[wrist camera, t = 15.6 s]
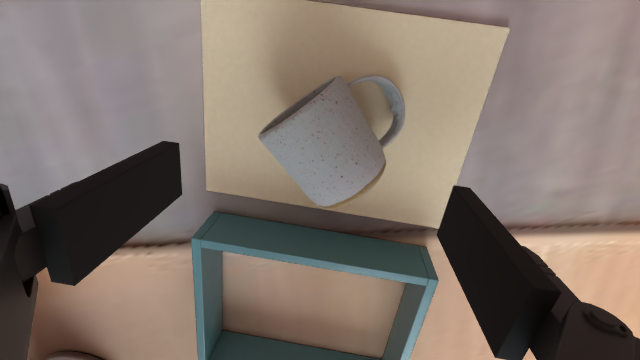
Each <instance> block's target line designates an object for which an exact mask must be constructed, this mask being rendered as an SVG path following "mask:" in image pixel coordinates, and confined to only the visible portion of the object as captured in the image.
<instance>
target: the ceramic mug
mask: <svg viewBox="0 0 640 360" xmlns="http://www.w3.org/2000/svg"><path fill="white" fill-rule="evenodd" d="M366 81H369V82H375V83H377V84H379V86H380V87H382V89H383V90H384V92H385V95H386V97H387V99H388V101H389V104H390V111H391V112H392V113H393V114H394V115H393V121H392V124H391V127H390V128H389V130H388V131H387V132H386V134H385V135H384V136H383V137H382V138H381V139H380V140H378V139H377V137H376V135H375V134H374V132H373V131H372V129H371V127H370V126H369V124H368V122H367V121H366V119H365V117H364V115H363V113H362V111H361V109H360V107H359V106H358V104H357V102H356V101H355V99H354V97H353V95H352V93H351V91H350V88H351V87H352V86H353V85H355V84H358V83H361V82H366ZM404 120H405V104H404V100H403V97H402V95H401V93H400V91H399V89H398V88H397V86H396V85H395V84H394V82H392V81H391V80H390V79H388V78H386V77H383V76H378V75H366V76H362V77H358V78H356V79H353V80H350V81H348V82H346V83H345V81H344V79H343V78H342V76H336V77H333V78H331V79H330V80H327V81H326V82H324V83H323V84H321V85H319V86H318V87H316V88H315V89H314V90H312V91H311V92H309V93H307V94H306V95H305V96H303V97H302V98H300V99H299V100H298V101H296V102H295V103H293V104H292V105H291V106H289V107H288V108H287V109H286V110H284V111H283V112H282V113H280V114H279V115H278V116H277V117H275V118H274V119H273V120H272V121H271V122H270V123H269V124H267V125H266V127H264V128H263V130H262V131H261V132H260V133H259V136H258V137H259V140H260V141H261V142H262V143H263V144H264V146H265V147H266V148H267V149H268V150H269V151H270V153H271V154H272V155H273V156H274V157H275V158H276V160H277V161H278V162H279V163H280V164H281V166H282V167H283V168H284V169H285V170H286V172H287V173H288V174H289V175H290V176H291V177H292V178H293V180H294V181H295V182H296V183H297V184H298V186H299V187H300V188H301V189H302V191H303V192H304V193H305V194H306V195H307V196H308V197H309V198H310V199H311V200H312V201H313V202H315V203H316V204H317V205H318V206H320V207H322V208H326V209H332V208H338V207H342V206H345V205H347V204H350V203H352V202H354V201H355V200H357V199H358V198H360V197H362V196H363V195H364V194H365V193H367V192H368V191H369V190H370V189H372V188H373V187H374V186H375V184H376V183H377V182H378V181H379V180H380V178H381V176H382V175H383V173H384V170H385V166H386V159H385V155H384V152H383V148H384V147H386V146H388V145H389V144H390V143H391V142H392V141H393V140H394V139H395V138H396V137H397V136H398V134H399V132H400V131H401V129H402V127H403V124H404Z"/></svg>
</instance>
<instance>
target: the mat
mask: <svg viewBox="0 0 640 360" xmlns="http://www.w3.org/2000/svg"><path fill="white" fill-rule="evenodd" d="M201 23H202V58H203V92H204V127H205V162H206V190H207V191H213V192H220V193H226V194H232V195H238V196H244V197H250V198H256V199H262V200H268V201H274V202H281V203H287V204H293V205H299V206H305V207H311V208H317V209H323V210H329V211H335V212H341V213H348V214H354V215H360V216H366V217H372V218H378V219H384V220H390V221H396V222H402V223H409V224H415V225H421V226H427V227H433V228H439V227H440V224H441V221H442V218H443V215H444V212H445V209H446V206H447V203H448V200H449V197H450V194H451V191H452V188H453V185H454V186H456V183H457V180H458V177H459V174H460V171H461V169H462V166H463V163H464V160H465V157H466V154H467V151H468V148H469V145H470V143H471V140H472V137H473V134H474V131H475V128H476V125H477V122H478V119H479V117H480V114H481V111H482V108H483V105H484V102H485V99H486V96H487V93H488V91H489V88H490V85H491V82H492V79H493V76H494V73H495V70H496V67H497V65H498V62H499V59H500V56H501V53H502V50H503V47H504V44H505V41H506V39H507V36H508V33H509V30H510V28H507V27H499V26H492V25H485V24H477V23H470V22H462V21H455V20H448V19H440V18H433V17H425V16H418V15H411V14H403V13H396V12H388V11H381V10H374V9H366V8H359V7H352V6H344V5H337V4H329V3H322V2H315V1H307V0H201ZM366 75H378V76H383V77H386V78H388V79H390V80H391V81H392V82H394V84H395V85H396V86H397V88H398V89H399V91H400V93H401V95H402V97H403V100H404V104H405V120H404V124H403V127H402V129H401V131H400V132H399V134H398V136H397V137H396V138H395V139H394V140H393V141H392V142H391V143H390V144H389V145H388V146H386V147H384V148H383V152H384V155H385V159H386V166H385V170H384V173H383V175H382V176H381V178H380V180H379V181H378V182H377V183H376V184H375V186H374V187H373V188H372V189H370V190H369V191H368V192H367V193H365V194H364V195H363V196H362V197H360V198H358V199H357V200H355V201H354V202H352V203H350V204H347V205H345V206H342V207H338V208H332V209H326V208H322V207H320V206H318V205H317V204H316V203H315V202H313V201H312V200H311V199H310V198H309V197H308V196H307V195H306V194H305V193H304V192H303V191H302V189H301V188H300V187H299V186H298V184H297V183H296V182H295V181H294V180H293V178H292V177H291V176H290V175H289V174H288V173H287V172H286V170H285V169H284V168H283V167H282V166H281V164H280V163H279V162H278V161H277V160H276V158H275V157H274V156H273V155H272V154H271V153H270V151H269V150H268V149H267V148H266V147H265V146H264V144H263V143H262V142H261V141H260V140H259V137H258V136H259V133H260V132H261V131H262V130H263V128H264V127H266V125H267V124H269V123H270V122H271V121H272V120H273V119H274V118H275V117H277V116H278V115H279V114H280V113H282V112H283V111H284V110H286V109H287V108H288V107H289V106H291V105H292V104H293V103H295V102H296V101H298V100H299V99H300V98H302V97H303V96H305V95H306V94H307V93H309V92H311V91H312V90H314V89H315V88H316V87H318V86H319V85H321V84H323V83H324V82H326V81H327V80H330V79H331V78H333V77H336V76H342V78H343V79H344V81H345V83H346V82H348V81H350V80H353V79H356V78H358V77H362V76H366ZM350 91H351V93H352V95H353V97H354V99H355V101H356V102H357V104H358V106H359V107H360V109H361V111H362V113H363V115H364V117H365V119H366V121H367V122H368V124H369V126H370V127H371V129H372V131H373V132H374V134H375V135H376V137H377V139H378V140H380V139H381V138H382V137H383V136H384V135H385V134H386V132H387V131H388V130H389V128H390V127H391V124H392V121H393V115H394V114H393V113H392V112H391V111H390V104H389V101H388V99H387V97H386V95H385V92H384V90H383V89H382V87H380V86H379V84H377V83H375V82H369V81H366V82H361V83H358V84H355V85H353V86H352V87H351V88H350Z"/></svg>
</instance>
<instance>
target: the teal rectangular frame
mask: <svg viewBox="0 0 640 360" xmlns="http://www.w3.org/2000/svg"><path fill="white" fill-rule="evenodd" d="M191 241H192V259H193V277H194V295H195V313H196V331H197V349H198V360H381V359H376V358H371V357H365V356H360V355H354V354H349V353H343V352H338V351H333V350H327V349H322V348H316V347H311V346H305V345H300V344H294V343H289V342H284V341H278V340H273V339H267V338H262V337H256V336H251V335H245V334H240V333H234V332H229V331H224V330H223V331H222V251H225V252H231V253H237V254H243V255H248V256H254V257H260V258H266V259H272V260H278V261H283V262H289V263H295V264H301V265H307V266H312V267H318V268H324V269H330V270H336V271H341V272H347V273H353V274H359V275H365V276H370V277H376V278H382V279H388V280H394V281H399V282H405V283H406V286H405V289H404V292H403V295H402V298H401V302H400V305H399V308H398V311H397V314H396V317H395V320H394V324H393V327H392V330H391V333H390V336H389V339H388V342H387V346H386V349H385V352H384V355H383V358H382V360H409V359H410V356H411V353H412V351H413V348H414V345H415V343H416V340H417V337H418V334H419V332H420V329H421V326H422V324H423V321H424V318H425V316H426V313H427V310H428V308H429V305H430V302H431V300H432V297H433V294H434V292H435V289H436V286H437V284H438V281H439V280H438V277H437V274H436V272H435V269H434V266H433V264H432V261H431V258H430V255H429V253H428V250H427V247H422V246H417V245H411V244H405V243H399V242H393V241H387V240H381V239H375V238H369V237H363V236H357V235H351V234H345V233H339V232H333V231H327V230H321V229H315V228H309V227H303V226H297V225H291V224H285V223H279V222H273V221H267V220H261V219H255V218H249V217H243V216H237V215H231V214H225V213H219V212H213V213H212V215H211V216H210V217H209V218H208V219H207V220H206V222H205V223H204V224H203V225H202V226H201V227H200V229H199V230H198V231H197V232H196V233H195V234H194V236H193V237H192V238H191Z"/></svg>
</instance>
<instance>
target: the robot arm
mask: <svg viewBox="0 0 640 360" xmlns="http://www.w3.org/2000/svg"><path fill="white" fill-rule="evenodd" d="M181 195H182V184H181V167H180V151H179V143H174V142H168V141H162V142H160V143H158V144H156V145H154V146H152V147H150V148H148V149H145V150H143V151H141V152H139V153H137V154H135V155H133V156H131V157H129V158H127V159H125V160H122V161H120V162H118V163H116V164H114V165H112V166H110V167H108V168H106V169H104V170H102V171H100V172H97V173H95V174H93V175H91V176H89V177H87V178H85V179H83V180H81V181H78V182H74V183H72V184H70V185H68V186H66V187H64V188H61V190H57V191H55V192H53V193H51V194H50V195H47V196H45V197H43V198H40V199H38V200H36V201H34V202H32V203H30V204H28V205H26V206H24V207H21V208H19V209H17V210H15V208H14V205H13V202H12V198H11V195H10V192H9V189H8V186H6V185H4V184H0V360H27V354H28V348H29V341H30V335H31V328H32V322H33V316H34V309H35V303H36V297H37V290H38V281H37V278H36V274H37V273H39V272H40V271H41V270H43V269H44V268H46V267H47V268H48V272H49V275H50V279H51V282H55V283H61V284H67V285H73V286H75V285H76V284H78V283H79V282H80V281H81V280H82V279H83V278H85V277H86V276H87V275H88V274H89V273H90V272H92V271H93V270H94V269H95V268H96V267H98V266H99V265H100V264H101V263H102V262H103V261H105V260H106V259H107V258H108V257H109V256H110V255H112V254H113V253H114V252H115V251H116V250H117V249H119V248H120V247H121V246H122V245H123V244H124V243H126V242H127V241H128V240H129V239H130V238H132V237H133V236H134V235H135V234H136V233H137V232H139V231H140V230H141V229H142V228H143V227H144V226H146V225H147V224H148V223H149V222H150V221H151V220H153V219H154V218H155V217H156V216H157V215H159V214H160V213H161V212H162V211H163V210H164V209H166V208H167V207H168V206H169V205H170V204H171V203H173V202H174V201H175V200H176V199H177V198H178V197H180V196H181ZM437 237H438V239H439V241H440V243H441V245H442V247H443V249H444V251H445V253H446V256H447V258H448V260H449V262H450V264H451V266H452V268H453V270H454V272H455V274H456V277H457V279H458V281H459V283H460V285H461V287H462V289H463V291H464V293H465V296H466V298H467V300H468V302H469V304H470V306H471V308H472V310H473V312H474V314H475V317H476V319H477V321H478V323H479V325H480V327H481V329H482V331H483V333H484V336H485V338H486V340H487V342H488V344H489V346H490V348H491V350H492V352H493V354H494V357H495V358H500V359H505V360H522V359H523V358H524V356H525V354H526V352H527V351H528V349H529V348H530V349H531V351H532V353H533V354H534V356H535V358H536V359H537V360H640V339H639V338H636V337H634V336H633V333H632V331H631V330H630V329H629V328H628V327H627V326H626V324H625V323H623V322H622V321H621V320H619V319H618V318H617V317H615V316H614V315H612V314H611V313H609V312H607V311H605V310H604V309H602V308H599V307H597V306H594V305H592V304H588V303H584V302H581V301H580V300H579V299H578V298H577V297H576V296H575V295H574V294H573V293H572V291H571V290H570V289H569V288H568V287H567V286H566V285H565V284H564V283H563V282H562V281H561V280H560V279H559V277H557V276H556V274H555V273H554V272H553V271H552V270H551V269H550V268H548V266H547V264H546V263H545V262H544V261H543V260H542V259H541V258H540V257H539V256H538V255H537V254H535V253H534V252H532V251H531V250H529V249H528V248H527V247H525V246H521V245H520V244H519V243H518V242H517V241H516V240H515V238H514V237H513V236H512V235H511V234H510V233H509V232H508V230H507V229H506V228H505V227H504V226H503V225H502V224H501V223H500V221H499V220H498V219H497V218H496V217H495V216H494V215H493V214H492V212H491V211H490V210H489V209H488V208H487V207H486V206H485V204H484V203H483V202H482V201H481V200H480V199H479V198H478V197H477V195H476V194H475V193H474V192H473V191H472V190H471V189H470V188H467V187H461V186H454V185H453V188H452V191H451V194H450V197H449V200H448V203H447V206H446V209H445V212H444V215H443V218H442V221H441V224H440V227H439V230H438V233H437ZM45 360H101V359H99V358H96V357H94V356H91V355H88V354H84V353H79V352H71V351H64V352H57V353H54V354H51V355H49V356H48V357H47V358H46V359H45Z"/></svg>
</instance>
